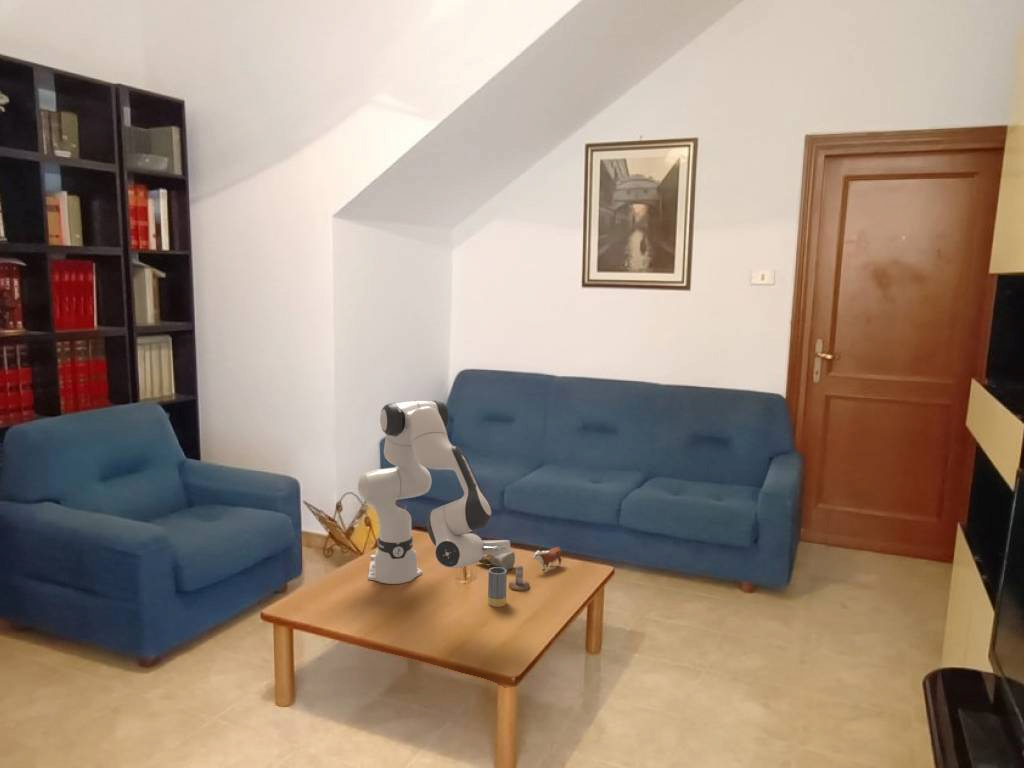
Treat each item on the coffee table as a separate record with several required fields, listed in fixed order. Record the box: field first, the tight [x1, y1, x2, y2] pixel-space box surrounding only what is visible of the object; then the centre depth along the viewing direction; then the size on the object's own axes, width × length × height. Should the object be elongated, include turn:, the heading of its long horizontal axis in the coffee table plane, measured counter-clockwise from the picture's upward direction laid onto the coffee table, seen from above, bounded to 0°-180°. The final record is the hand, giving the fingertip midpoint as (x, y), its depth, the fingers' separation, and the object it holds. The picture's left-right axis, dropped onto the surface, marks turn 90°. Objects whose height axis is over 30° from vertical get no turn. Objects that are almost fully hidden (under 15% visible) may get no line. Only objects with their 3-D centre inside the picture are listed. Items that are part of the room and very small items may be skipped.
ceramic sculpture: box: [477, 551, 516, 571], centre depth 281 cm, size 11×9×15 cm
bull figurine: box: [532, 546, 562, 574], centre depth 278 cm, size 4×13×8 cm, turn 132°
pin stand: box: [508, 564, 530, 592], centre depth 262 cm, size 7×7×8 cm
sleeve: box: [487, 566, 508, 608], centre depth 249 cm, size 6×6×11 cm
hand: (485, 545), depth 238 cm, fingers open, 8 cm apart
